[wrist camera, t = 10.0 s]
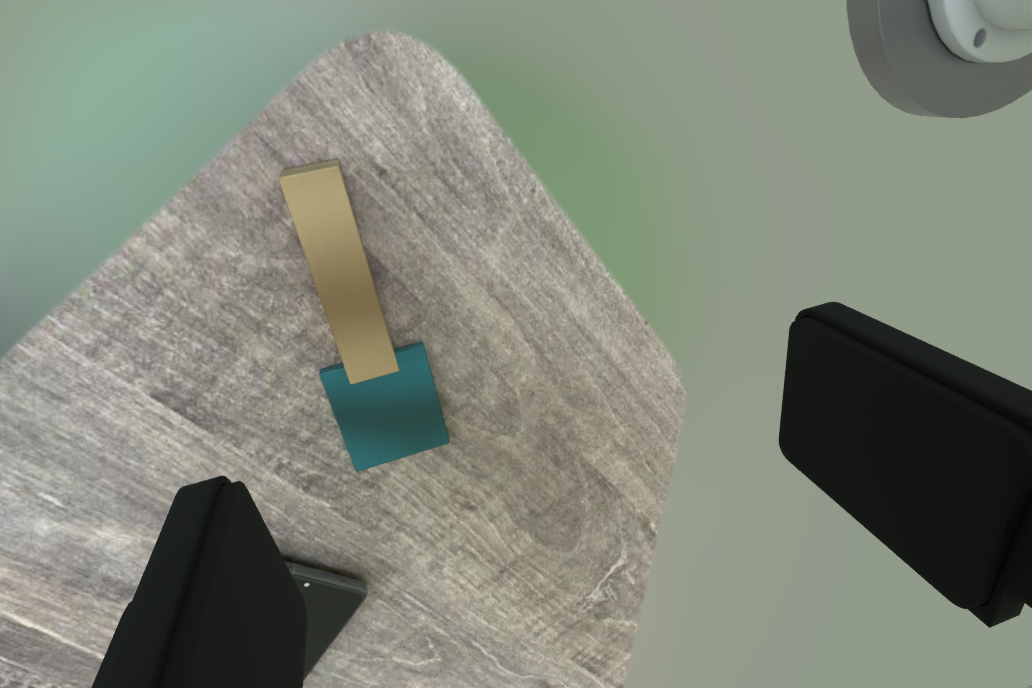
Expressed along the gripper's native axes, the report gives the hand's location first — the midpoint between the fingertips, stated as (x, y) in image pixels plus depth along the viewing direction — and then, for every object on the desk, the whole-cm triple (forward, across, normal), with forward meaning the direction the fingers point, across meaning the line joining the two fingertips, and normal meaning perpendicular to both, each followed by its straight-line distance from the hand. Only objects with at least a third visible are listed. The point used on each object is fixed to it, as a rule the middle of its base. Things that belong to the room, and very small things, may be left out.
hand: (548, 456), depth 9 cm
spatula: (+17, +4, +4) cm, 18 cm away
